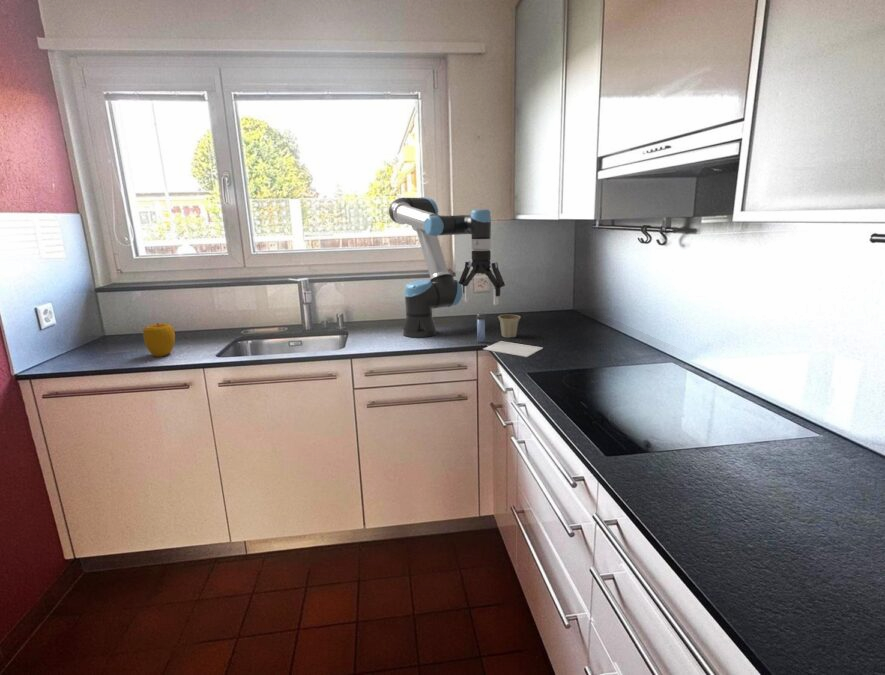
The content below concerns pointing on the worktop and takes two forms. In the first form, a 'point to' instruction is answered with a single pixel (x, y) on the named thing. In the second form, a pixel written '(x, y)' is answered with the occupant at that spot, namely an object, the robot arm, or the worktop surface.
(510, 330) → the flower pot
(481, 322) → the cylinder
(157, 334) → the apple
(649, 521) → the worktop surface
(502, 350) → the paper
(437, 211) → the robot arm
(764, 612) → the worktop surface
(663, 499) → the worktop surface
